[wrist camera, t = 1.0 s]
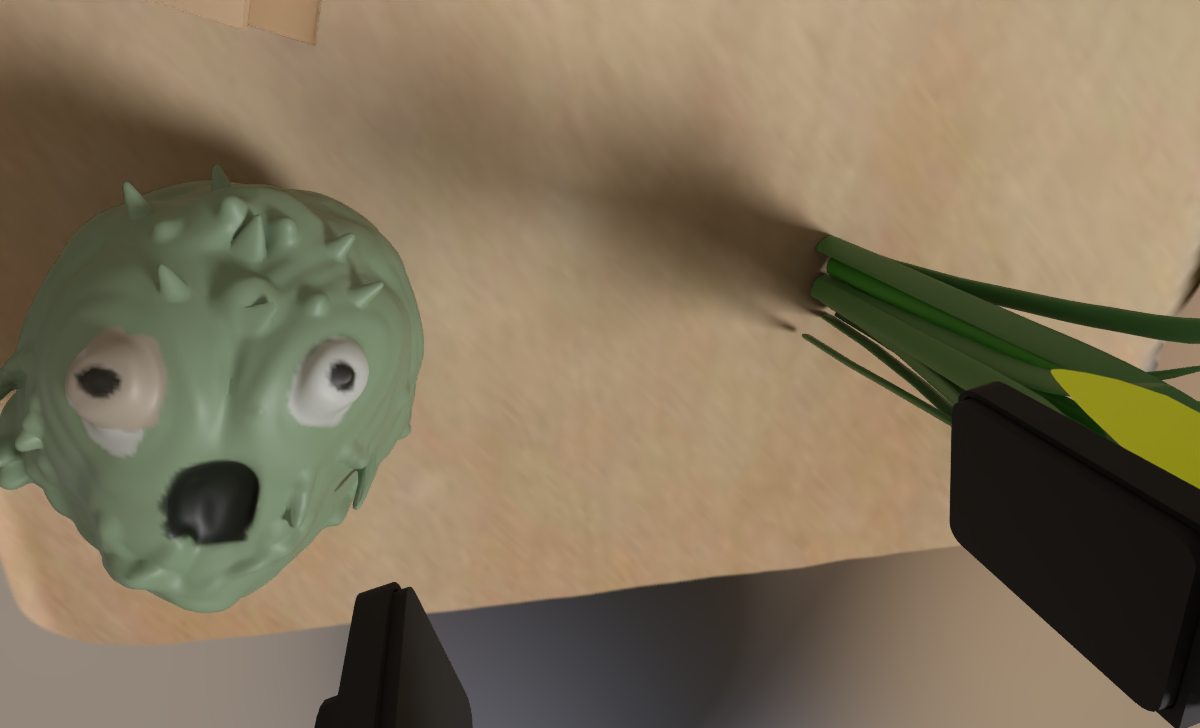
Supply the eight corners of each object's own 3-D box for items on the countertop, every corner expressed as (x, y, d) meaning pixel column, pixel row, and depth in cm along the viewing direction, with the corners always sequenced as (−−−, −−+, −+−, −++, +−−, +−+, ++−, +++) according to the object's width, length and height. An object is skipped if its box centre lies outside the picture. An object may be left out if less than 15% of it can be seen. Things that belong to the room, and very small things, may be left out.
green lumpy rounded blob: (104, 408, 37) (-217, 706, 19) (175, 89, 32) (-176, 92, 14) (373, 474, 43) (319, 754, 25) (473, 211, 37) (496, 326, 19)
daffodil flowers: (977, 258, 46) (2092, 619, 15) (848, 416, 49) (1541, 986, 18) (824, 118, 40) (2249, 237, 8) (686, 310, 43) (1337, 922, 11)
